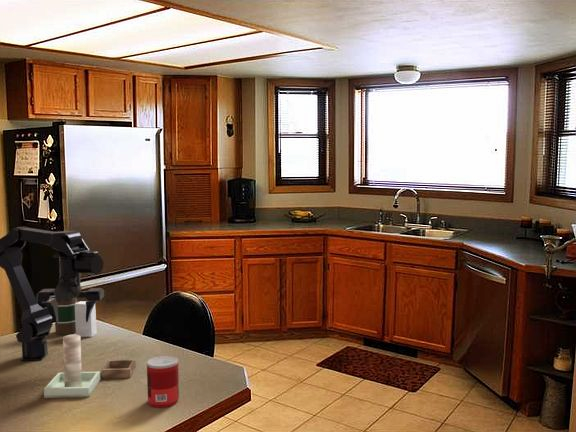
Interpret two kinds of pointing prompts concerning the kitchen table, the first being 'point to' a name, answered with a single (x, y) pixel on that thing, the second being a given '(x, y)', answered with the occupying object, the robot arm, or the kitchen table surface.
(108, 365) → the brown square open box
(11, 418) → the kitchen table surface
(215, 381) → the kitchen table surface
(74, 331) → the beer bottle
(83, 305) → the skincare box
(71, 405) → the kitchen table surface
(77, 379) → the peg
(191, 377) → the kitchen table surface
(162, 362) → the canned food
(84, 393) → the tray
